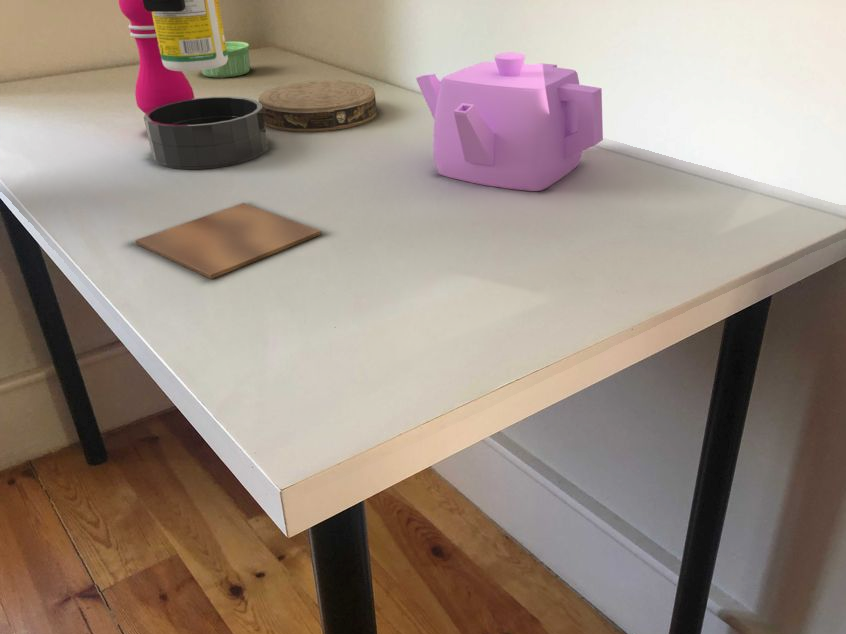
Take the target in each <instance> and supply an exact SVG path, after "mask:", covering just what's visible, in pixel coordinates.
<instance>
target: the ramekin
mask: <svg viewBox="0 0 846 634" xmlns="http://www.w3.org/2000/svg"><path fill="white" fill-rule="evenodd" d="M225 43H226V49H227V56H228V60H227V63H226V64H225V65H223V66H221V67H218V68H214V69H209V70H201V73H202V75H203V76H205V77H207V78H216V79H221V78H222V79H223V78H233V77H239V76H242V75H245V74H248V73H249V72H250V70H251V63H250V44H249V43H248V42H246V41H245V42H244V41H233V40H232V41H225Z"/></svg>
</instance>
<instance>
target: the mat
mask: <svg viewBox="0 0 846 634" xmlns="http://www.w3.org/2000/svg"><path fill="white" fill-rule="evenodd" d="M321 235H322V232H321V230H319V229H317V228H313V227H311V226H308V225H305V224H303V223H300V222H297V221H294V220H292V219H288V218H286V217H283V216H280V215H278V214H275V213H272V212H269V211H268V210H267V211H266V210H265V209H261V208H259V207H256V206H253V205H250V204H247V203H244V202H242V203H240V204H236V205H233V206H231V207H227V208H225V209H222V210H219V211H217V212H213V213H211V214H208V215H205V216H202V217H198V218H196V219H194V220H191V221H190V220H189V221H186V222H184V223H181V224H179V225H175V226H173V227H170V228H167V229H163V230H161V231H159V232H155V233H152V234H150V235H147V236H143V237H141V238H137V239H135V244H136V245H137V246H139V247H142V248H144V249H147V250H148V251H151V252H153V253H155V254H157V255H159V256H161V257H162V258H163V257H164V258H165V259H168V260H170V261H172V262H174V263H176V264H178V265H180V266H183V267H184V268H187V269H189V270H191V271H194V272H195V273H197V274H199V275H201V276H204V277H206V278H208V279H210V280H213V279H215V278H218V277H220V276H223V275H225V274H228V273H230V272H233V271H236V270H238V269H241V268H242V267H243V268H244V267H245V266H247V265H250V264H252V263H255V262H257V261H260V260H262V259H265V258H267V257H270V256H272V255H274V254H277V253H280V252H282V251H285V250H287V249H289V248H292V247H294V246H296V245H297V246H298V245H299V244H302V243H304V242H307V241H308V240H311V239H314V238H316V237H318V236H321Z"/></svg>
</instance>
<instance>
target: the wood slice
mask: <svg viewBox="0 0 846 634" xmlns="http://www.w3.org/2000/svg"><path fill="white" fill-rule="evenodd" d="M376 101H377V100H376V90H375V88H374V87H372V86H371V85H369V84H366V83H362V82H357V81H347V80H314V81H313V80H312V81H305V82H304V81H302V82H295V83H289V84H284V85H279V86H275V87H273V88H271V89H270V88H269V89H267V90H265V91H264V92H262V93H261V94H259V96H258V102H259V103H261V104H262V108H263V115H264V121H265V127H269V128H272V129H274V130H280V131H287V132H301V133H302V132H303V133H304V132H305V133H312V132H314V133H315V132H327V131H329V132H330V131H334V130H335V131H336V130H342V129H343V130H344V129H349V128H351V127H352V128H353V127H356V126H359V125H363V124H365V123H367V122H369V121H372V120H373V119H374V118H375V117H376V116H377V115H378V114H377V113H378V112H377V102H376Z"/></svg>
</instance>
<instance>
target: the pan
mask: <svg viewBox="0 0 846 634" xmlns="http://www.w3.org/2000/svg"><path fill="white" fill-rule="evenodd" d="M143 121H144V126H145V130H146V134H147V138H148V142H149V147H150V152H151V156H152V158H153V160H154V162H155V163H156V164H158V165H160V166H162V167H166V168H171V169H177V170H206V169H207V170H208V169H217V168H224V167H225V168H226V167H230V166H234V165H235V166H236V165H240V164H243V163H246V162H249V161H253V160H254V159H257V158H258V157H261V156H262V155H264V154H265V153H266V152H267V150H268V149H269V142H268V135H267V128H266V125H265V121H264V115H263V108H262V104H261V103H259V100H256V99H251V98H248V97H242V96H241V97H240V96H205V97H195V98H194V99H187V100H181V101H176V102H172V103H168V104H164V105H161V106H158V107H155V108H153V109H151V110H150V111H148V112H146V113H144V116H143Z"/></svg>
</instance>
